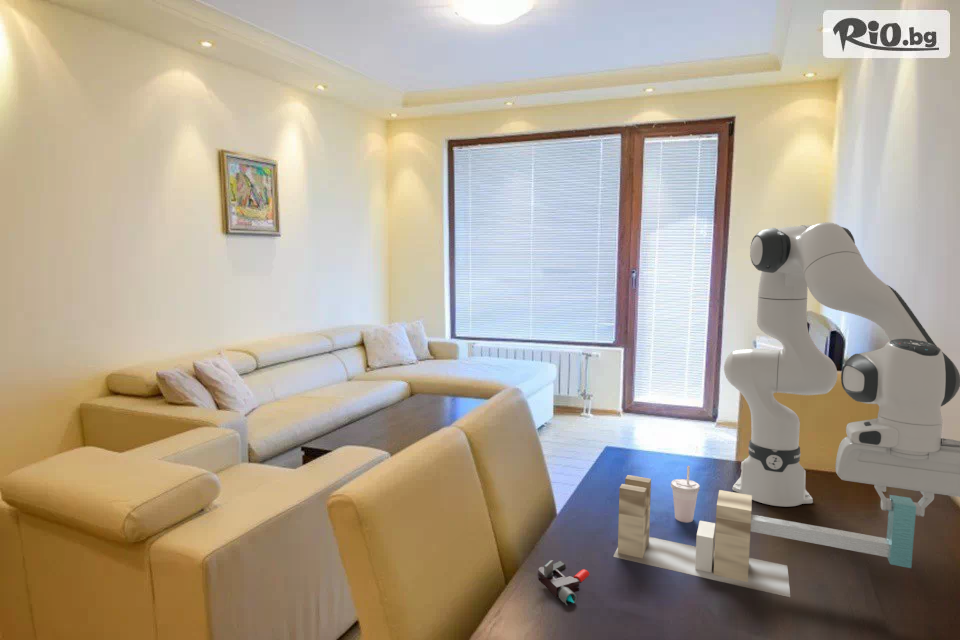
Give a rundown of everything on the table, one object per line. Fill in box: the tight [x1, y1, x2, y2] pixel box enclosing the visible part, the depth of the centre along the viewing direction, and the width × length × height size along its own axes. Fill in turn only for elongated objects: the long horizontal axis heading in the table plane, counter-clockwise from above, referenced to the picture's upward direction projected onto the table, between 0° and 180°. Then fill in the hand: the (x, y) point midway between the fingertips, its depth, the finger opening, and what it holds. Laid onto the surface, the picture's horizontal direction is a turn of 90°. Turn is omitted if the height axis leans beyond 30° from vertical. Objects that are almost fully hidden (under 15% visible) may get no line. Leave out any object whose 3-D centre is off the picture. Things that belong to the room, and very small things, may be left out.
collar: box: [695, 520, 716, 573], centre depth 113 cm, size 7×3×7 cm, turn 154°
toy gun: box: [537, 559, 590, 606], centre depth 107 cm, size 10×12×5 cm
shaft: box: [750, 494, 917, 569], centre depth 104 cm, size 4×27×11 cm, turn 64°
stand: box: [613, 474, 791, 598], centre depth 113 cm, size 12×32×15 cm, turn 64°
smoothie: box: [670, 465, 701, 523], centre depth 133 cm, size 6×6×14 cm
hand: (901, 512), depth 98 cm, fingers closed on shaft, 3 cm apart
